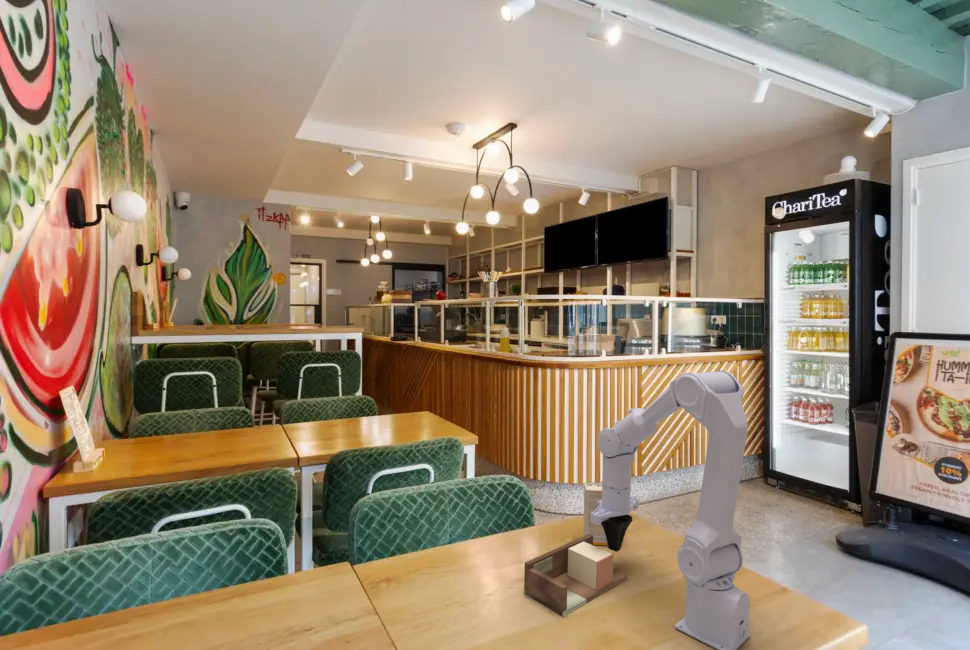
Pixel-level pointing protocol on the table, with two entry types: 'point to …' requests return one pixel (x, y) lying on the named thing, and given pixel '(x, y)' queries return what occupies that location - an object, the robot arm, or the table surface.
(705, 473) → the robot arm
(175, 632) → the table surface
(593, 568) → the cream rectangular block
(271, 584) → the table surface
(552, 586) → the shelf
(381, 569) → the table surface
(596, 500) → the supplement box
